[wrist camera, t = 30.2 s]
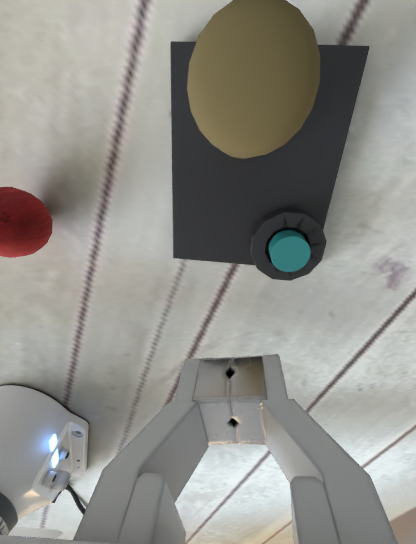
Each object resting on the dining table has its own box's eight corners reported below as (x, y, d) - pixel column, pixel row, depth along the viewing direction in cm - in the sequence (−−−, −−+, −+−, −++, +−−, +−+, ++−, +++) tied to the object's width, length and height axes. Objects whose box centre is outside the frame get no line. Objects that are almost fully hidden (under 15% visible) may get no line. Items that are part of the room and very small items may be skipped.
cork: (278, 44, 17) (334, -98, 7) (295, 142, 19) (355, 138, 9) (192, 82, 18) (139, 8, 8) (218, 169, 21) (200, 190, 11)
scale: (308, 268, 25) (316, 283, 22) (176, 256, 26) (169, 269, 23) (360, 52, 18) (382, 36, 15) (174, 48, 19) (164, 31, 16)
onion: (2, 188, 25) (-94, 205, 18) (54, 176, 24) (-26, 190, 17) (30, 244, 27) (-44, 279, 20) (79, 236, 26) (19, 270, 19)
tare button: (301, 264, 22) (306, 273, 21) (266, 261, 22) (268, 270, 21) (309, 231, 21) (314, 237, 19) (271, 228, 21) (274, 234, 19)
